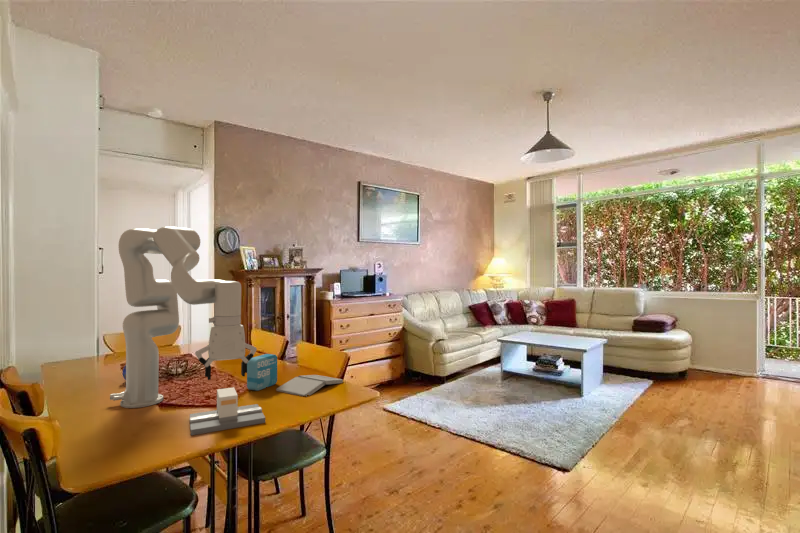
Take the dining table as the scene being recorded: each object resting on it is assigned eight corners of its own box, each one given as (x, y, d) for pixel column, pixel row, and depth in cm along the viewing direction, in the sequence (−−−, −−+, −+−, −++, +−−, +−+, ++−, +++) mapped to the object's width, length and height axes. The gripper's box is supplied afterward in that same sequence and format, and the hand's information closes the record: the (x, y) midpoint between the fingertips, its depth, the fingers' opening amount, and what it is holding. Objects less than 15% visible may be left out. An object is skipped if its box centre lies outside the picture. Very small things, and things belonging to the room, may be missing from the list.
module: (219, 422, 118) (219, 397, 118) (216, 412, 127) (216, 389, 127) (237, 419, 121) (237, 395, 121) (233, 409, 129) (234, 387, 129)
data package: (255, 391, 153) (255, 360, 153) (246, 390, 155) (246, 358, 155) (277, 383, 164) (277, 354, 164) (268, 382, 166) (268, 353, 166)
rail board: (190, 435, 113) (190, 427, 113) (189, 418, 125) (189, 411, 125) (265, 422, 122) (265, 414, 122) (257, 408, 135) (257, 401, 135)
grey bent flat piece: (305, 398, 147) (305, 388, 147) (275, 392, 154) (275, 382, 154) (343, 383, 167) (343, 374, 167) (315, 378, 174) (315, 370, 174)
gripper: (196, 324, 117) (195, 383, 117) (259, 321, 125) (257, 377, 125) (195, 321, 123) (194, 377, 123) (255, 318, 131) (253, 371, 131)
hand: (226, 377), depth 124 cm, fingers open, 9 cm apart
